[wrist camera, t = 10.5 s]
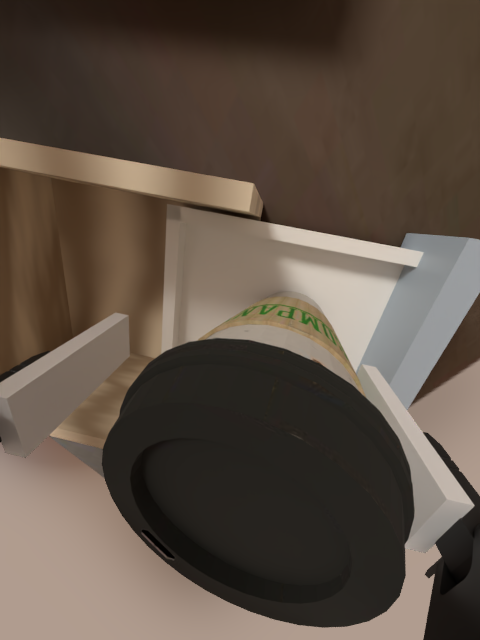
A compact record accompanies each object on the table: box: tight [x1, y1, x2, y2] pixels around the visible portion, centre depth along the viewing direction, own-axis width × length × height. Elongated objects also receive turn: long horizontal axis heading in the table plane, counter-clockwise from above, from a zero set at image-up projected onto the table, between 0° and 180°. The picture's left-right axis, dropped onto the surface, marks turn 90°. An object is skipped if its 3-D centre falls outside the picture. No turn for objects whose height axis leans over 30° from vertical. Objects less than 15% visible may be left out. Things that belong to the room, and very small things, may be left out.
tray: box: [161, 204, 480, 410], centre depth 19 cm, size 20×17×6 cm
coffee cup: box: [102, 291, 415, 627], centre depth 13 cm, size 10×10×15 cm
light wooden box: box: [0, 138, 263, 449], centre depth 18 cm, size 19×18×11 cm
